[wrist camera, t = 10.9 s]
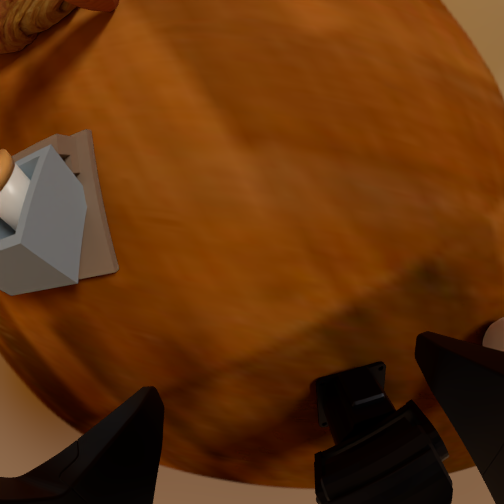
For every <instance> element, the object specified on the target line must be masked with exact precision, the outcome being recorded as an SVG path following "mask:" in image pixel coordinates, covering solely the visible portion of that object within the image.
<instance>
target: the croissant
mask: <svg viewBox="0 0 504 504" xmlns="http://www.w3.org/2000/svg"><path fill="white" fill-rule="evenodd" d="M75 7H77V6H76V5H73V4H71V3H69V2H67V1H65V0H0V54H4V53H9V52H16V51H20V50H22V49H23V48H24V47H25V46H26V45H27V44H31V43H32V42H33V40H34V39H35V38H36V37H37V35H38V32H42V31H44V30H47V29H49V28H50V27H51V26H52V25H54V24H56V23H58V22H59V21H60V20H61V19H62V18H64V17H65V16H66V15H68V14H69V13H70V12H71V11H72V10H73V9H74V8H75Z"/></svg>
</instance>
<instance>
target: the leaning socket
mask: <svg viewBox="0 0 504 504" xmlns="http://www.w3.org/2000/svg"><path fill="white" fill-rule="evenodd" d="M12 158H13V159H14V161H15V163H16V164H17V165H18V167H19V168H20V169H21V170H22V171H23V172H24V174H25V175H26V176H27V177H28V178H29V179H30V180H31V181H30V184H29V187H28V190H27V193H26V196H25V200H24V203H23V206H22V210H21V213H20V217H19V221H18V225H17V229H16V231H15V230H14V229H13V228H12V227H11V226H9V225H8V224H7V223H6V222H5V221H4V220H3V219H1V218H0V290H2V291H3V292H5V293H7V294H9V295H11V296H12V295H18V294H23V293H29V292H34V291H40V290H45V289H50V288H56V287H61V286H67V285H72V284H78V279H83V278H88V277H94V276H99V275H104V274H109V273H115V272H116V271H118V270H119V266H118V263H117V259H116V255H115V252H114V248H113V244H112V240H111V236H110V232H109V228H108V223H107V219H106V214H105V210H104V205H103V200H102V195H101V190H100V185H99V179H98V173H97V167H96V161H95V155H94V148H93V140H92V132H91V130H87V129H86V130H83V131H81V132H78V133H76V134H73V135H71V136H65V135H60V134H55V135H53V136H50V137H48V138H46V139H44V140H42V141H40V142H38V143H36V144H34V145H32V146H30V147H28V148H26V149H25V150H23V151H21V152H19V153H17V154H15V155H14V156H12Z"/></svg>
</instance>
